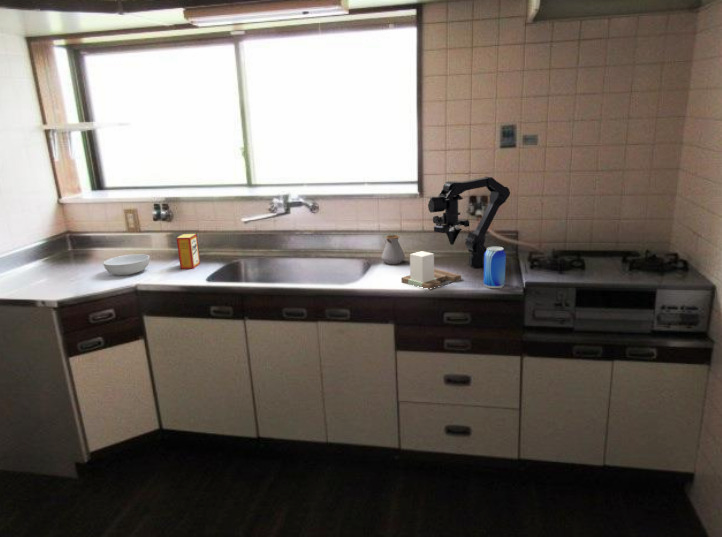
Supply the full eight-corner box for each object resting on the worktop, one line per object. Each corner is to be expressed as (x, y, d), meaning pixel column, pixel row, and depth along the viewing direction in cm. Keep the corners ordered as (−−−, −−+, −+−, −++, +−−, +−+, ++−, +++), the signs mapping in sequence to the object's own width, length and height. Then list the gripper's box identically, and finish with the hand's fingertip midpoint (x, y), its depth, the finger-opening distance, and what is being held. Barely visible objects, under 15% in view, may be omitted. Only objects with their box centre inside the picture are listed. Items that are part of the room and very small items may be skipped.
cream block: (421, 275, 228) (421, 251, 225) (434, 279, 223) (433, 253, 220) (410, 279, 224) (410, 254, 221) (422, 282, 219) (422, 256, 216)
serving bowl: (127, 266, 273) (125, 252, 271) (160, 268, 266) (158, 254, 264) (95, 277, 254) (92, 263, 252) (130, 280, 247) (128, 265, 245)
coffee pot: (383, 259, 266) (382, 229, 262) (406, 259, 264) (406, 229, 260) (375, 270, 246) (375, 239, 242) (400, 271, 244) (400, 239, 240)
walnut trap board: (433, 272, 240) (433, 268, 239) (461, 279, 228) (461, 275, 227) (401, 282, 227) (401, 277, 227) (429, 290, 215) (429, 285, 215)
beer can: (492, 282, 223) (493, 244, 218) (508, 286, 216) (510, 248, 212) (479, 286, 218) (480, 248, 213) (495, 290, 211) (497, 251, 207)
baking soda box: (187, 264, 271) (183, 233, 267) (200, 263, 271) (196, 233, 267) (180, 269, 262) (176, 237, 258) (193, 268, 262) (189, 237, 258)
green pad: (422, 279, 230) (422, 275, 229) (436, 283, 224) (436, 278, 223) (408, 284, 224) (408, 279, 224) (422, 288, 218) (422, 283, 218)
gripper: (450, 205, 247) (450, 238, 251) (424, 211, 235) (424, 246, 239) (470, 207, 239) (469, 241, 243) (444, 214, 227) (444, 249, 231)
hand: (451, 244), depth 240 cm, fingers closed
